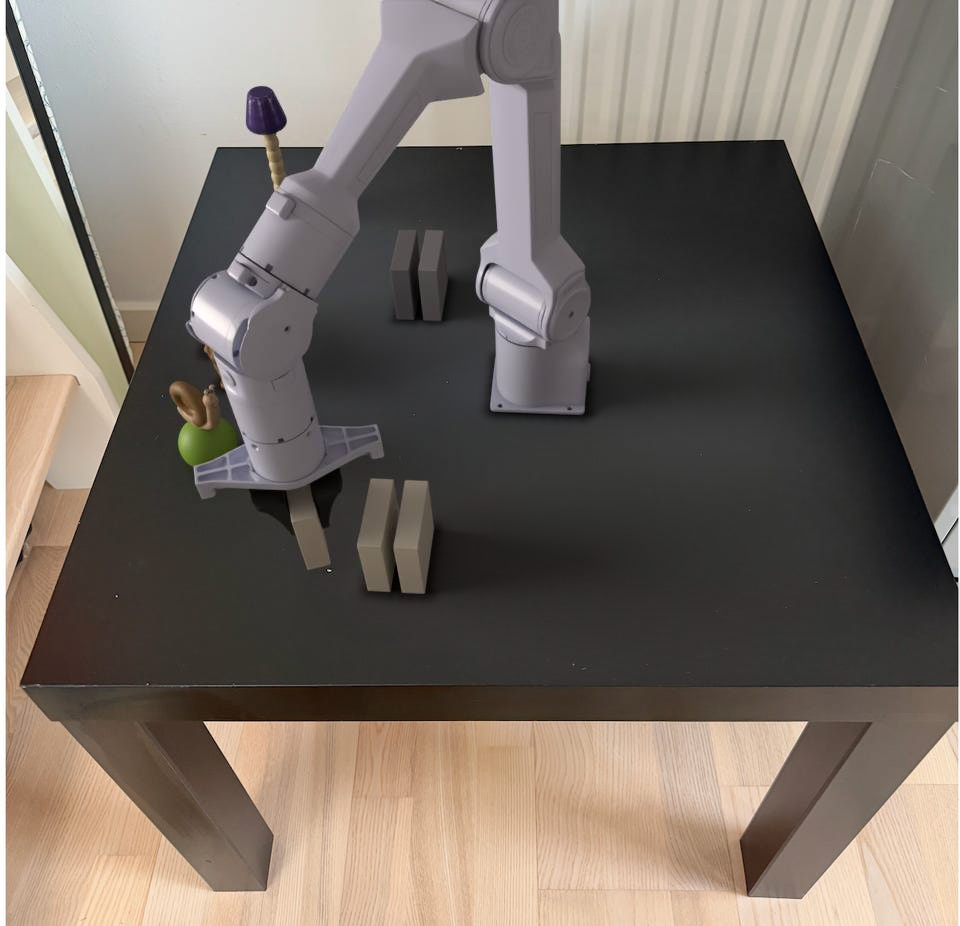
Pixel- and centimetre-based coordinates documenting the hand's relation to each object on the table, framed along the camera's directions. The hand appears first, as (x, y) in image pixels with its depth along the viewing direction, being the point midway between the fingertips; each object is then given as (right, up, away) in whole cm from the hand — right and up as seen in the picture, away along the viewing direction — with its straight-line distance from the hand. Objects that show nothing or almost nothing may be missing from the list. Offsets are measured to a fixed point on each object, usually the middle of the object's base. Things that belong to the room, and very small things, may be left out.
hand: (309, 522), depth 78 cm
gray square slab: (+10, +24, +25) cm, 36 cm away
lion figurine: (-12, +16, +20) cm, 28 cm away
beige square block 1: (+6, -3, +3) cm, 8 cm away
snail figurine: (-11, +5, +11) cm, 16 cm away
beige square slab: (0, -1, +1) cm, 2 cm away
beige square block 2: (+9, -3, +3) cm, 10 cm away
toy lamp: (-10, +36, +37) cm, 52 cm away
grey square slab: (+7, +24, +26) cm, 36 cm away
